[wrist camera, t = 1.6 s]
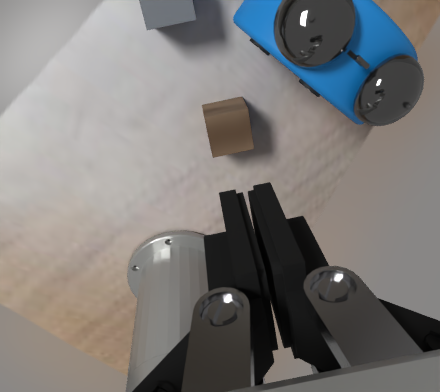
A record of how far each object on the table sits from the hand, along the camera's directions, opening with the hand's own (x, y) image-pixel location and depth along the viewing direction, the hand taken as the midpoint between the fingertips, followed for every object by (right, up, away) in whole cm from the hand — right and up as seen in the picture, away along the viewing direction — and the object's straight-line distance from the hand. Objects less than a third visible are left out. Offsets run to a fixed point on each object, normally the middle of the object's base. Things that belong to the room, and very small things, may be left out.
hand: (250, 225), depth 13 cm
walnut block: (0, +9, +26) cm, 28 cm away
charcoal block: (-6, +18, +20) cm, 28 cm away
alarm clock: (+6, +16, +23) cm, 29 cm away
